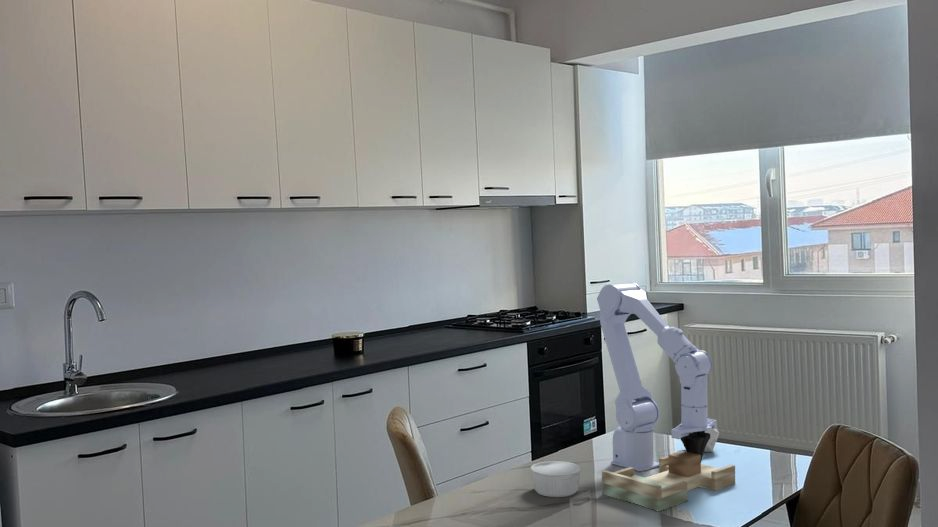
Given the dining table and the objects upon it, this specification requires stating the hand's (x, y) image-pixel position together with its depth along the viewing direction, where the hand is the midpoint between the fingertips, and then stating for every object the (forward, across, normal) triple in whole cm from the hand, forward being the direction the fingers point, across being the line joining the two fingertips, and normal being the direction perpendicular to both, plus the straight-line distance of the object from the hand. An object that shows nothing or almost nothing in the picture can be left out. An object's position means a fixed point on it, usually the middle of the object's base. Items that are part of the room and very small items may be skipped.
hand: (695, 465), depth 185 cm
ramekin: (+4, -28, +16) cm, 33 cm away
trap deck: (+3, -9, 0) cm, 10 cm away
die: (+4, +22, +14) cm, 26 cm away
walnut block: (+1, -4, 0) cm, 4 cm away
